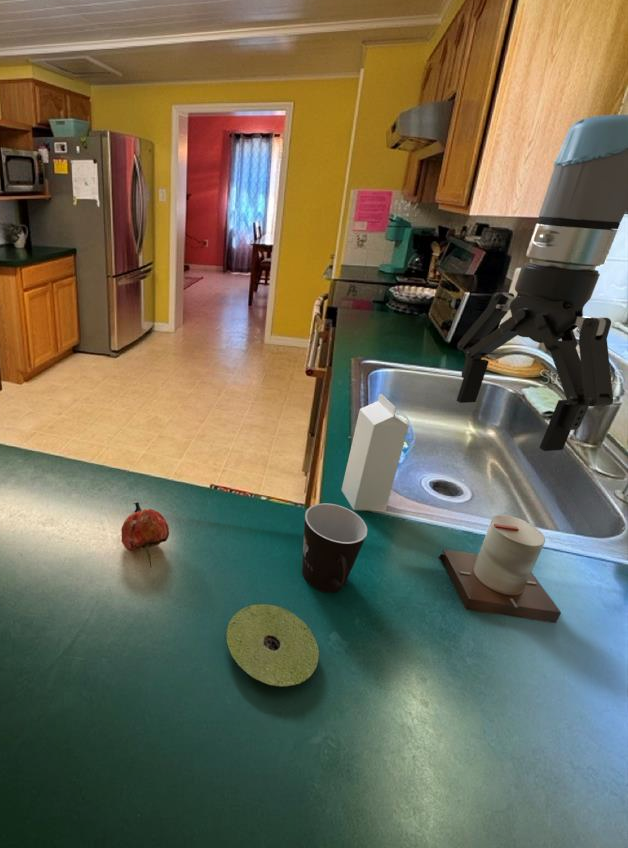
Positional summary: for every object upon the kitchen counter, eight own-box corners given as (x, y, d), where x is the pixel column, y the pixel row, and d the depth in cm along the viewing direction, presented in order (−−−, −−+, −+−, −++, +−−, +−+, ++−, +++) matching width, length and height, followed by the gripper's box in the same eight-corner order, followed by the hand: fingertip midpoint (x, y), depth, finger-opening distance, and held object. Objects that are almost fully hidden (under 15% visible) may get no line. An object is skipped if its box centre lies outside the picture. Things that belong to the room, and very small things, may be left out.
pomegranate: (172, 567, 74) (163, 504, 79) (175, 560, 67) (165, 492, 72) (125, 575, 73) (118, 510, 78) (123, 568, 66) (116, 499, 71)
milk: (369, 498, 90) (396, 393, 82) (384, 518, 85) (414, 408, 76) (338, 497, 90) (363, 392, 82) (351, 518, 84) (378, 407, 76)
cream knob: (509, 565, 73) (530, 516, 69) (532, 598, 67) (556, 547, 63) (466, 559, 73) (484, 510, 70) (484, 591, 67) (505, 540, 64)
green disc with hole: (214, 619, 63) (216, 608, 62) (293, 609, 65) (295, 598, 64) (241, 704, 53) (243, 692, 52) (332, 689, 55) (336, 677, 54)
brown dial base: (517, 568, 75) (522, 557, 74) (557, 625, 65) (563, 613, 64) (438, 557, 76) (442, 546, 75) (466, 611, 67) (470, 599, 66)
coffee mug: (303, 547, 77) (314, 496, 73) (358, 569, 73) (372, 517, 69) (280, 595, 67) (290, 540, 63) (341, 624, 63) (356, 566, 60)
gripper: (456, 249, 66) (418, 387, 74) (656, 285, 44) (571, 477, 52) (500, 250, 68) (458, 385, 76) (714, 286, 45) (623, 472, 53)
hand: (504, 423), depth 64 cm, fingers open, 13 cm apart
